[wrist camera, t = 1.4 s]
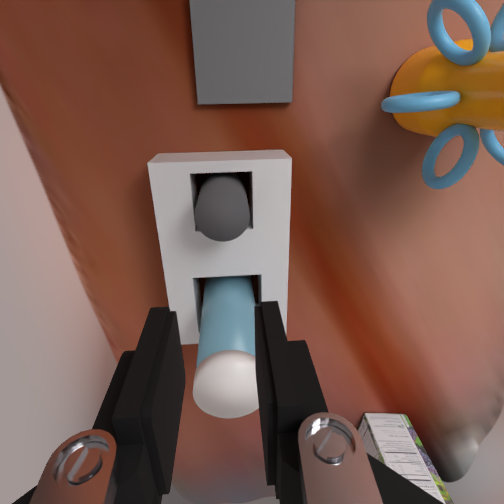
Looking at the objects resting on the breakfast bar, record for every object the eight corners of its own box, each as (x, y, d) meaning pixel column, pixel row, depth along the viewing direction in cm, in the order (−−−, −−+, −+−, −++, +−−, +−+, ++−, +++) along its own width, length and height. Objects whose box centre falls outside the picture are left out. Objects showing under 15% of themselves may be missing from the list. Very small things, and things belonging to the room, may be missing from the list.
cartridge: (203, 260, 31) (189, 367, 19) (251, 258, 31) (267, 362, 19) (206, 301, 33) (196, 420, 21) (252, 298, 33) (267, 415, 21)
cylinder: (326, 72, 25) (445, 49, 11) (452, -42, 22) (797, -244, 9) (404, 193, 29) (555, 280, 16) (516, 109, 27) (808, 128, 13)
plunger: (198, 171, 26) (191, 190, 21) (245, 170, 26) (249, 188, 21) (202, 215, 27) (197, 242, 22) (246, 213, 27) (250, 240, 23)
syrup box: (391, 442, 44) (459, 588, 31) (349, 441, 44) (401, 589, 31) (406, 413, 42) (486, 557, 29) (361, 411, 41) (424, 558, 28)
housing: (158, 153, 26) (147, 163, 23) (283, 149, 27) (291, 158, 23) (180, 317, 33) (175, 345, 30) (279, 312, 34) (286, 338, 30)
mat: (189, -12, 22) (188, -15, 21) (294, -12, 22) (295, -15, 22) (198, 104, 25) (197, 104, 25) (290, 102, 25) (292, 102, 25)
